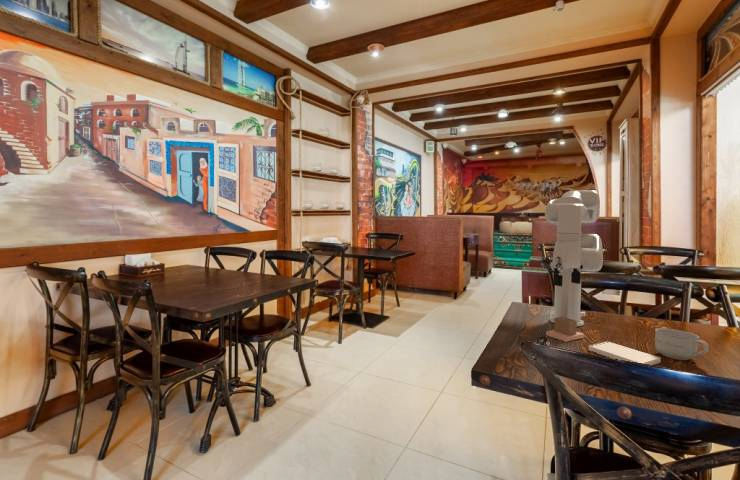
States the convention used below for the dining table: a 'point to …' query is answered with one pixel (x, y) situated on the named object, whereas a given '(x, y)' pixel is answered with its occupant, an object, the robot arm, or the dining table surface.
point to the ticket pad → (623, 353)
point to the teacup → (678, 344)
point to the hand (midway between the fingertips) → (566, 284)
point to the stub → (565, 330)
